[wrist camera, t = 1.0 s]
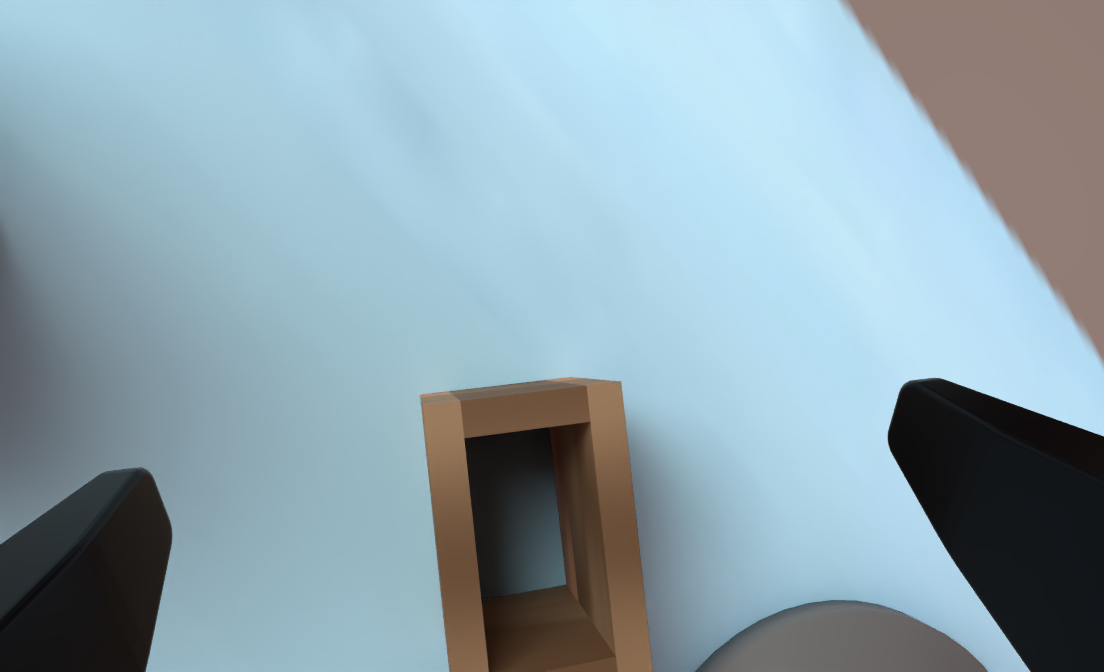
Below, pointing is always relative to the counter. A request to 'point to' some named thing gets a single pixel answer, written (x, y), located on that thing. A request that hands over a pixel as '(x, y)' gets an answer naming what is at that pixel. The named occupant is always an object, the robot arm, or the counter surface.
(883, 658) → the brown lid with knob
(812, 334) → the counter surface
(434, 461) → the walnut sleeve
